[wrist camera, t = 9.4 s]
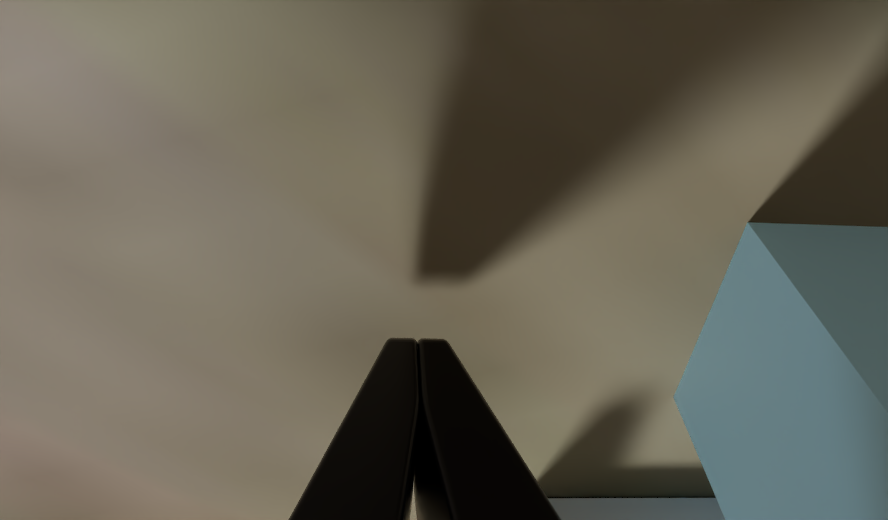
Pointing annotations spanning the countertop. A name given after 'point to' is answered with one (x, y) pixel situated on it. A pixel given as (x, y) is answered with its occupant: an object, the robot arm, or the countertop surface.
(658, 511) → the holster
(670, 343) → the countertop surface
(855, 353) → the light blue block
